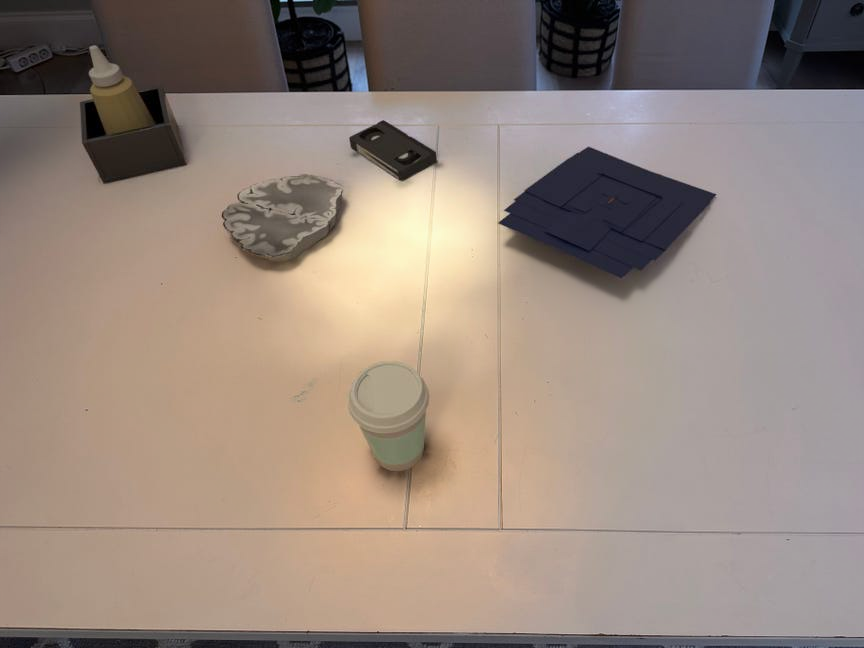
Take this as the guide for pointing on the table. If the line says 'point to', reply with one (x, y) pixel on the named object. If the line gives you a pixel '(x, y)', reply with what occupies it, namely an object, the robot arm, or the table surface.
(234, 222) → the brain slice
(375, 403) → the coffee cup
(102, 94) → the squeeze bottle
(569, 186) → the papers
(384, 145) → the vhs tape
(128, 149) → the box
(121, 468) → the table surface
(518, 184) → the table surface
